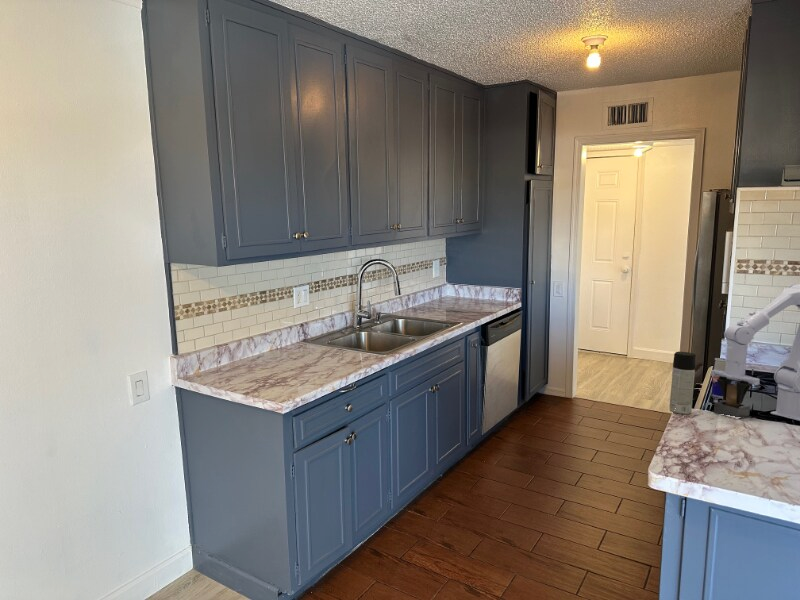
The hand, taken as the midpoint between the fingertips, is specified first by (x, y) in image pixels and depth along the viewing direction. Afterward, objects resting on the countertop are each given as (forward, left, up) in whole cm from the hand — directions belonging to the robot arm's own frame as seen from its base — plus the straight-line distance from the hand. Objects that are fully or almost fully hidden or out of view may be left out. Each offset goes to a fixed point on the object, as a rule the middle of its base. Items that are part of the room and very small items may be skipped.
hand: (732, 401), depth 186 cm
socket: (0, 0, -4) cm, 4 cm away
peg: (0, 0, -2) cm, 2 cm away
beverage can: (+13, -17, -5) cm, 22 cm away
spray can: (+10, +13, -5) cm, 17 cm away
